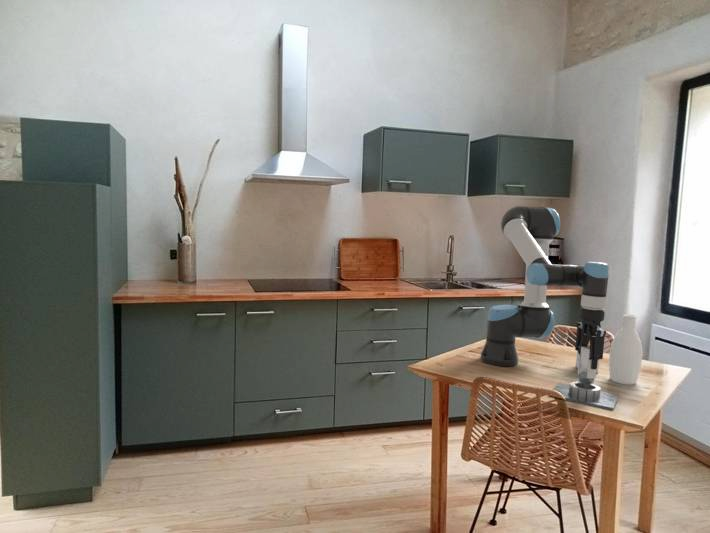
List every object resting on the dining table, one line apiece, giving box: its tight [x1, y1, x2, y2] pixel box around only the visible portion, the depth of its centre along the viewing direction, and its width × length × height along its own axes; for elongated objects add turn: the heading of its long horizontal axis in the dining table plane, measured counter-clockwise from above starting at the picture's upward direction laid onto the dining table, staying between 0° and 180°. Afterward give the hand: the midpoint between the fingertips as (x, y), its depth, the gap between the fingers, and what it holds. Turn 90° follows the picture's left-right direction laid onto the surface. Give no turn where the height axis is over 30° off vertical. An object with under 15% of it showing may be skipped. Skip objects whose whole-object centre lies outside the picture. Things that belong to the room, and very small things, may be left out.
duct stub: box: [577, 344, 595, 384], centre depth 182 cm, size 5×5×13 cm
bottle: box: [608, 313, 643, 386], centre depth 202 cm, size 11×11×25 cm
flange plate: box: [552, 380, 620, 411], centre depth 183 cm, size 20×16×4 cm
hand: (586, 375), depth 182 cm, fingers closed on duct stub, 5 cm apart
